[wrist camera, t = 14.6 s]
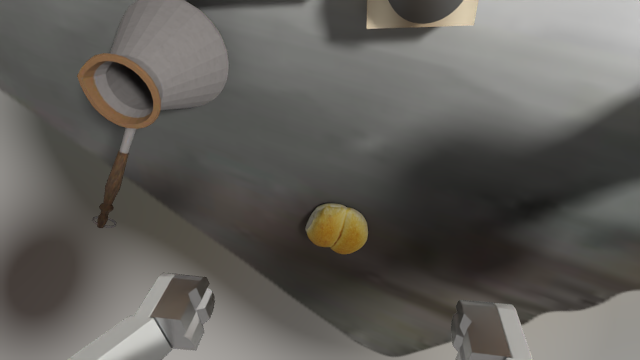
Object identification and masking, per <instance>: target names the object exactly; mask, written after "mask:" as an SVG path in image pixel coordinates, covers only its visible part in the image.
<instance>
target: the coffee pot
mask: <svg viewBox="0 0 640 360" xmlns="http://www.w3.org/2000/svg"><path fill="white" fill-rule="evenodd" d="M228 71H229V61H228V53H227V49H226V46H225V44H224V41H223V38H222V36H221V34H220V33H219V31H218V30H217V28H216V26H215V25H214V23H213V22H212V21H211V20H210V19H209V18H208V17H207V16H206V15H205V14H204V13H203V12H202V11H201V10H199V9H198V8H196V7H195V6H193V5H191V4H190V3H188V2H187V1H185V0H137V1H136V2H135V3H133V4H132V5H131V6H129V7H128V9H127V11H126V12H125V14H124V15H123V17H122V19H121V22H120V25H119V28H118V31H117V34H116V37H115V40H114V43H113V46H112V49H111V52H110V54H105V53H103V54H99V55H95V56H93V57H92V58H90V59H89V60H88V61H87V62H86V63H85V64H84V65H83V67H82V68H81V70H80V71H79V73H78V75H77V77H78V79H79V82H80V85H81V87H82V89H83V91H84V93H85V95H86V97H87V98H88V100H89V101H90V103H91V104H92V106H93V107H94V108H95V109H96V110H97V111H98V112H99V113H100V114H101V115H102V116H104V117H105V118H106V119H108V120H109V121H111V122H113V123H115V124H117V125H119V126H123V127H126V129H125V133H124V137H123V140H122V144H121V147H120V150H119V151H118V154H117V157H116V159H115V162H114V165H113V167H112V170H111V172H110V175H109V178H108V180H107V183H106V186H105V195H104V203H102V204H101V205H100V206H99V207H100V209H101V214H100V215H99V216H96V217H94V218H93V220H92V221H93V222H94V223H95V224H97V226H98V227H99V228H103V227H106V228H107V227H108V228H112V227H115V226H116V222H115V221H114V220H113V219H111V218H108V213H109V212H110V211H112V210H113V206H112V203H113V201H114V199H115V197H116V195H117V193H118V191H119V190H120V186H121V182H122V179H123V174H124V170H125V166H126V162H127V158H128V154H129V153H128V152H129V149H130V146H131V143H132V140H133V137H134V134H135V132H136V129H138V128H143V127H147V126H149V125H151V124H152V123H154V121H155V120H156V119H157V118H158V116H159V113H160V110H171V109H182V108H192V107H197V106H203V105H205V104H206V103H208V102H210V101H212V100H214V99H215V98H216V97H217V96H218V95H219V94H220V93H221V91H222V90H223V88H224V85H225V83H226V81H227V78H228ZM95 218H98V222H96V221H94V219H95ZM108 219H109V220H111V221H112V222H114V224H115V225H113V226H106V225H105V224H106V222H107V220H108Z"/></svg>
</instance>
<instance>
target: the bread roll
mask: <svg viewBox="0 0 640 360" xmlns="http://www.w3.org/2000/svg"><path fill="white" fill-rule="evenodd" d="M305 230H306V232H307V235H308V237H309V239H310V240H311V241H312V242H313V243H314V244H315V245H317V246H321V247H330V248H331V249H332V250H333V251H335V252H336V253H339V254H350V253H353V252H355V251H357V250H359V249H360V248H361V247H362V246H363V245H364V244H365V242H366V241H367V237H368V227H367V223H366V220H365V218H364V217H363V215H362V214H361V213H360V212H358V211H357V210H355V209H353V208H348V207H345V206H344V205H341V204H335V203H327V204H323V205H320V206H318V207H317V208H316V209H315V210H314V211H313V213H312V214H311V216H310V218H309V220H308V222H307V225H306V228H305Z"/></svg>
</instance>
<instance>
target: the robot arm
mask: <svg viewBox="0 0 640 360" xmlns="http://www.w3.org/2000/svg"><path fill="white" fill-rule="evenodd" d="M208 285H209V281H208V279H207V278H206V277H199V276H189V275H180V274H171V273H162V274H161V275H160V276H159V277H158V278H157V280H156V281H155V283H154V285H153V286H152V288H151V289H150V291H149V293H148V294H147V296H146V297H145V299H144V301H143V302H142V304H141V305H140V307H139V309H138V310H137V312H136V313H135V315H134V316H132V315H131V316H129V317H127V318H126V319H124V320H123V321H121V322H120V323H119V324H117V325H116V326H115V327H113V328H111V329H110V330H109V331H107V332H106V333H104V334H103V335H102V336H100V337H99V338H97V339H96V340H94V341H93V342H92V343H90V344H89V345H87V346H86V347H85V348H83V349H82V350H80V351H79V352H77V353H76V354H75V355H73V356H72V357H70V358H69V359H68V360H162V359H163V358H164V357H165V356H166V355H167V354H168V353H169V352H170V351H171V350H172V348H174V349H185V350H197V347H198V345H199V343H200V340H201V338H202V336H203V333H204V328H203V324H204V323H205V322H207V321H208V320H209V319H210V317H211V315H212V312H213V308H214V302H215V301H214V294H213V292H212V291H211V290H210V289H209V288H208ZM456 309H457V313H456V314H454V315H453V318H452V323H451V336H452V343H453V346H454V348H455V349H456V350H457V351H458V354H457V357H456V360H533V359H532V356H531V353H530V350H529V347H528V344H527V342H526V338H525V335H524V332H523V329H522V326H521V324H520V321H519V318H518V315H517V312H516V309H515V308H514V306H513V305H511V304H498V303H492V302H479V301H466V300H459V301H458V302H457V305H456Z"/></svg>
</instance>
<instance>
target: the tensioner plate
mask: <svg viewBox="0 0 640 360" xmlns="http://www.w3.org/2000/svg"><path fill="white" fill-rule="evenodd" d="M477 5H478V0H367V29H377V28H407V27H438V26H468V25H474V21H475V16H476V10H477Z"/></svg>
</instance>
